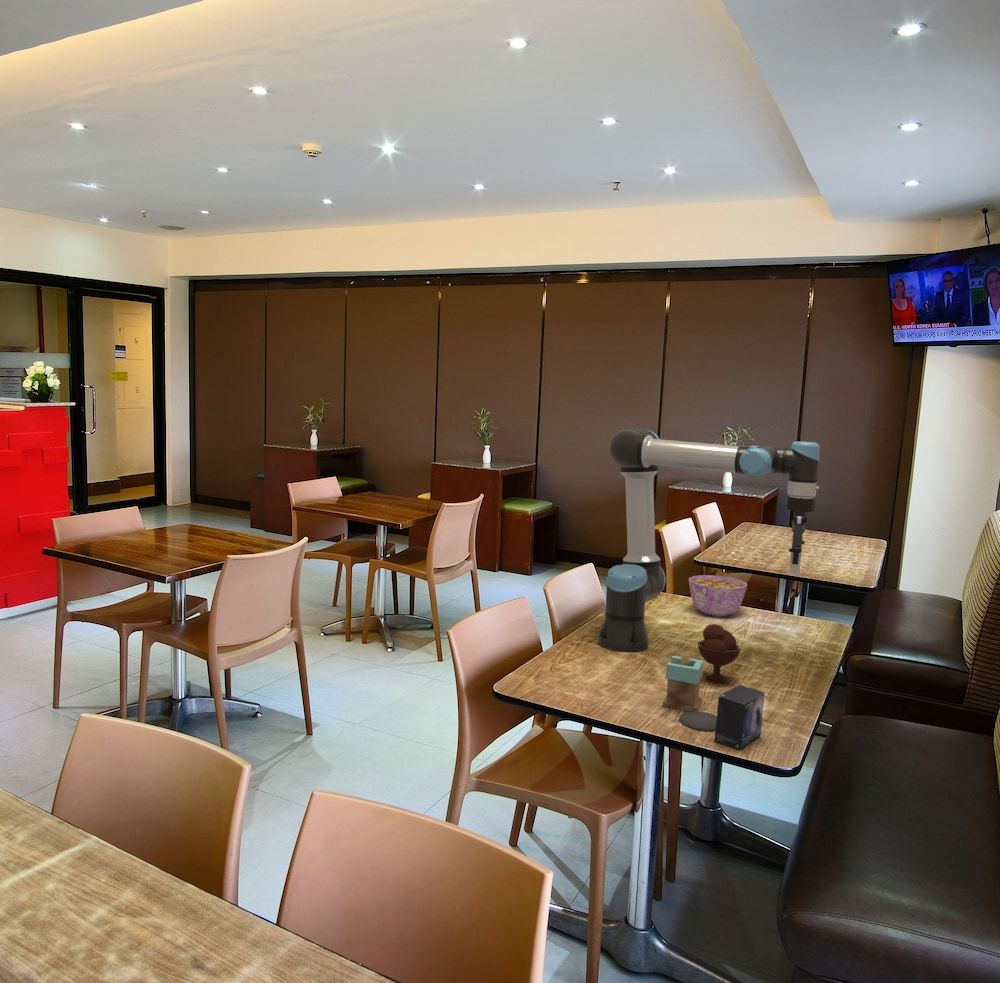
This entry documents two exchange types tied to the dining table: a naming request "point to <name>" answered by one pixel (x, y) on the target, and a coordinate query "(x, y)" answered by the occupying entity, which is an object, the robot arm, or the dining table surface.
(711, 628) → the ice cream bowl
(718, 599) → the bowl of food
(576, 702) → the dining table surface
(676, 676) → the c link
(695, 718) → the coaster
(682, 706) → the stand
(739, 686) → the small box
